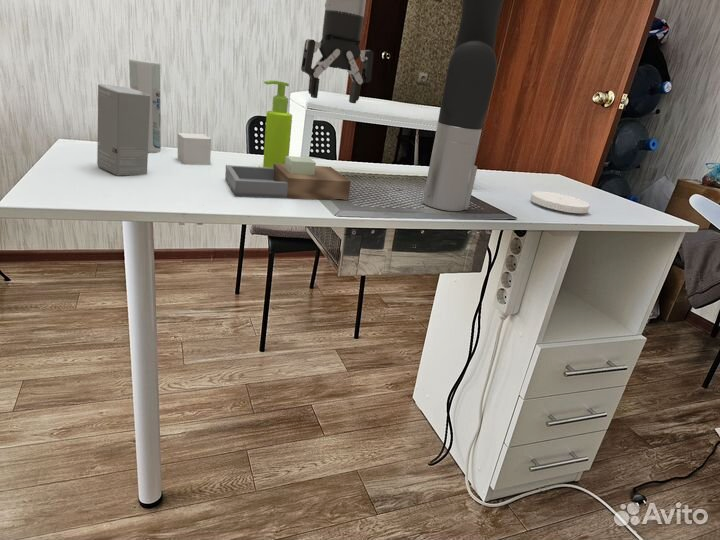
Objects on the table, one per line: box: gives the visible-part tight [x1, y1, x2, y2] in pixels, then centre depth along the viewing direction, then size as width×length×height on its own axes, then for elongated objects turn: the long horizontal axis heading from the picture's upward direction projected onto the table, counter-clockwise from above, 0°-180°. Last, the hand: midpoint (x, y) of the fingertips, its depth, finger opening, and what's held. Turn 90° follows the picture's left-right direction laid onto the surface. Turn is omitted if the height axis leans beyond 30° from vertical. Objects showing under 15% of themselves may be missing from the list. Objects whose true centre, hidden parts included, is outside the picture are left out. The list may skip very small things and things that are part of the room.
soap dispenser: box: [262, 80, 293, 168], centre depth 117 cm, size 6×7×20 cm
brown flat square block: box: [273, 163, 352, 201], centre depth 105 cm, size 13×13×4 cm
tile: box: [285, 155, 317, 175], centre depth 103 cm, size 5×5×2 cm
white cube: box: [177, 132, 212, 166], centre depth 115 cm, size 6×6×6 cm
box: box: [224, 164, 288, 199], centre depth 101 cm, size 10×13×3 cm
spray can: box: [128, 58, 162, 154], centre depth 117 cm, size 6×6×20 cm
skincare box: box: [96, 83, 150, 177], centre depth 97 cm, size 8×7×16 cm
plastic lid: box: [529, 190, 591, 214], centre depth 126 cm, size 14×14×2 cm
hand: (333, 100), depth 102 cm, fingers open, 8 cm apart
